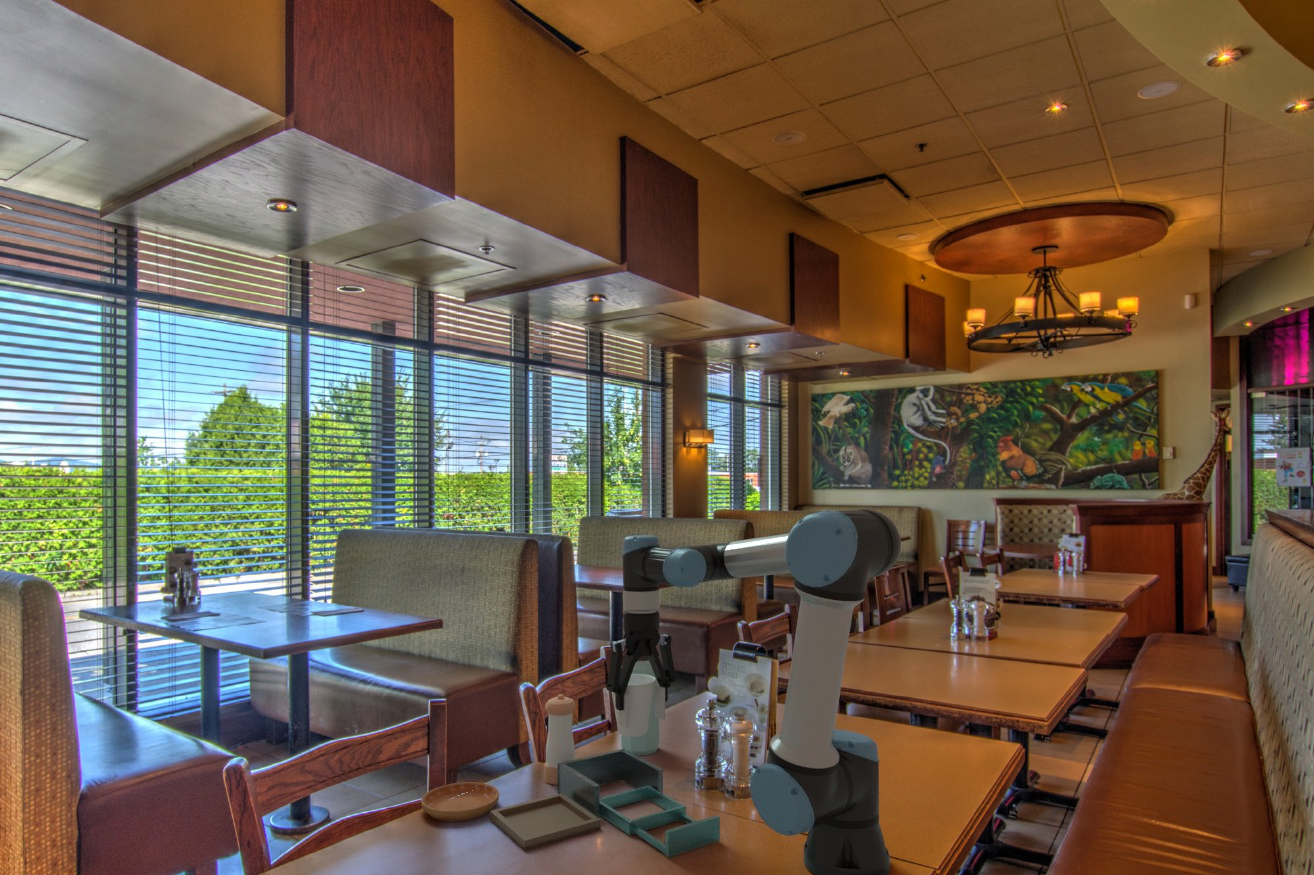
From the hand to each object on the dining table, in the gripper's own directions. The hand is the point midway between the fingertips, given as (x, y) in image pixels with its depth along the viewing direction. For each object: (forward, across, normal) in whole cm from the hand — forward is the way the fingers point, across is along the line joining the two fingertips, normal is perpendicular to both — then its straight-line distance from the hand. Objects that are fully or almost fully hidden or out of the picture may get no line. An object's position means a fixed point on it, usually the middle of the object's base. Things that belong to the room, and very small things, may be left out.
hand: (642, 721), depth 167 cm
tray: (+19, +18, -8) cm, 28 cm away
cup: (+3, 0, -3) cm, 4 cm away
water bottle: (+19, -22, -34) cm, 45 cm away
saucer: (+19, +29, -26) cm, 43 cm away
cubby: (+19, 0, -12) cm, 23 cm away
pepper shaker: (+19, +4, -28) cm, 35 cm away
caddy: (+19, 0, +5) cm, 20 cm away
